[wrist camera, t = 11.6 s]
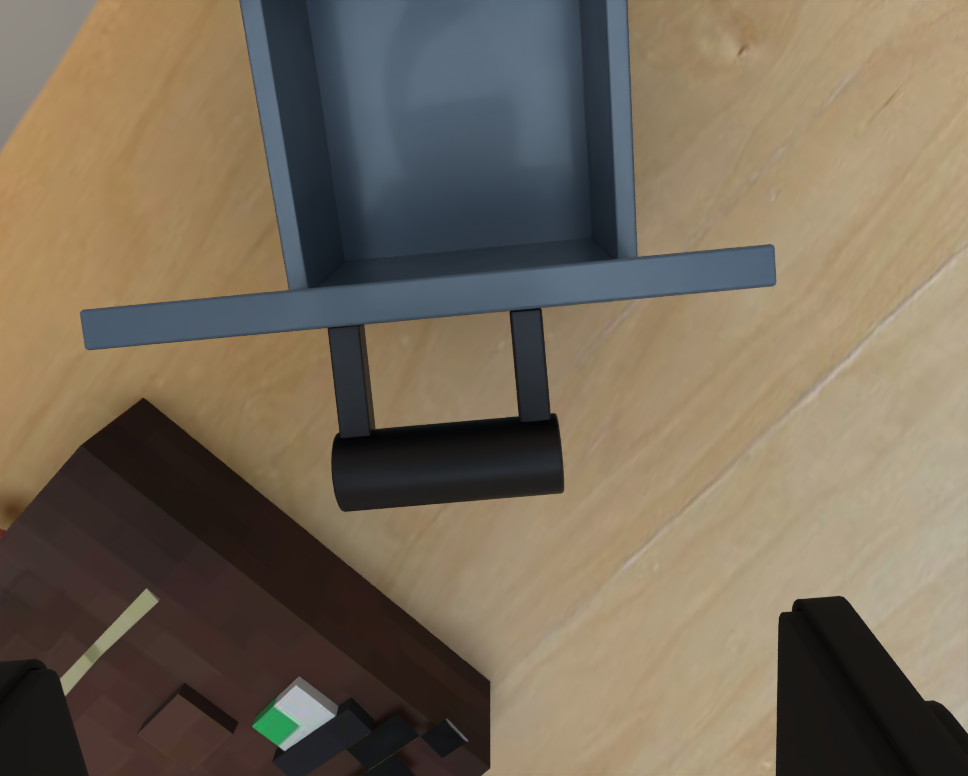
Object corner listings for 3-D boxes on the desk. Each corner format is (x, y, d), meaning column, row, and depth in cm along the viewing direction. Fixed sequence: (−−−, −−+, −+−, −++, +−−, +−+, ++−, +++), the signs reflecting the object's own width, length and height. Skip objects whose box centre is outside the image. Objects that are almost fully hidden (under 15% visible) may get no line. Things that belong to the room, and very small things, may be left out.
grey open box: (284, -50, 36) (220, -107, 27) (590, -84, 35) (621, -153, 27) (334, 276, 40) (292, 314, 32) (607, 250, 39) (638, 281, 31)
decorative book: (41, 396, 34) (541, 793, 40) (120, 351, 41) (533, 692, 47) (-190, 673, 38) (294, 993, 44) (-82, 587, 45) (321, 873, 52)
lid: (78, 310, 16) (113, 556, 16) (775, 243, 15) (788, 500, 16) (288, 306, 31) (303, 433, 32) (640, 272, 31) (649, 402, 31)
